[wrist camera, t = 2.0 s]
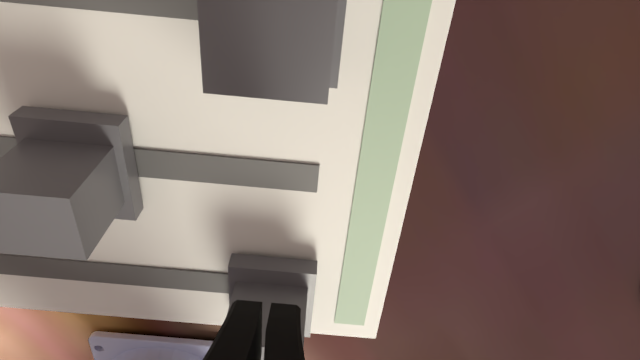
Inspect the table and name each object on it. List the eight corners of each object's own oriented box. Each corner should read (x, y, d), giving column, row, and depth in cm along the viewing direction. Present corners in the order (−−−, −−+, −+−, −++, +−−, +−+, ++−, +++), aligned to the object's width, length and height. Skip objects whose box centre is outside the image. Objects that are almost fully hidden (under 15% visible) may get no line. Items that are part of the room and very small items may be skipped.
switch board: (373, 313, 23) (375, 340, 22) (-140, 269, 23) (-170, 294, 22) (464, -96, 13) (478, -93, 12) (-446, -186, 13) (-537, -193, 12)
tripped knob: (143, 208, 18) (101, 279, 15) (51, 199, 18) (-12, 270, 15) (127, 115, 16) (73, 176, 12) (22, 105, 16) (-60, 164, 12)
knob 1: (337, 78, 15) (336, 134, 11) (225, 68, 14) (192, 121, 11) (352, -62, 12) (356, -40, 9) (220, -75, 12) (178, -58, 9)
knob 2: (310, 322, 21) (305, 400, 18) (233, 316, 21) (215, 393, 18) (317, 260, 19) (313, 337, 16) (231, 253, 19) (209, 328, 16)
